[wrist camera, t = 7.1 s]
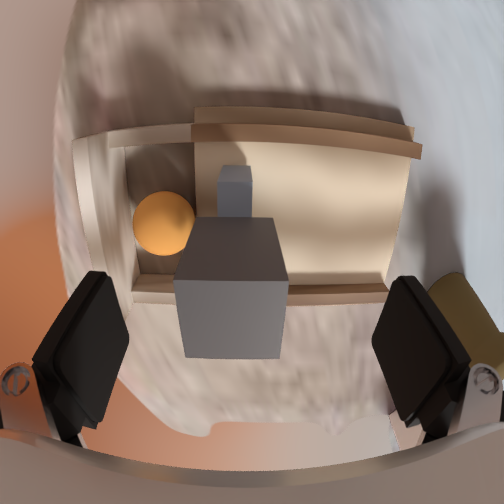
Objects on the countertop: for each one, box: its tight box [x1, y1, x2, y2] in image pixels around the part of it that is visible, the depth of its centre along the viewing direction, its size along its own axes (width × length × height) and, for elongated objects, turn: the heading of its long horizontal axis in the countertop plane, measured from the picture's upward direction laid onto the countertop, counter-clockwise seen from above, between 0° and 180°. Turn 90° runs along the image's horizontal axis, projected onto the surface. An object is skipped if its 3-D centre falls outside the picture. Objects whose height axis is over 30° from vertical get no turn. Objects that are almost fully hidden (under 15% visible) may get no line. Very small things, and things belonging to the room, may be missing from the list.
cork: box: [427, 272, 504, 380], centre depth 19 cm, size 6×6×11 cm
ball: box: [132, 191, 195, 256], centre depth 17 cm, size 4×4×4 cm
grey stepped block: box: [173, 165, 289, 359], centre depth 14 cm, size 7×4×9 cm, turn 179°
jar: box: [389, 410, 422, 451], centre depth 29 cm, size 9×8×12 cm
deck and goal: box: [72, 106, 422, 321], centre depth 17 cm, size 14×20×5 cm
